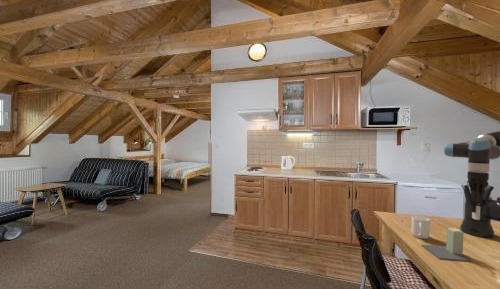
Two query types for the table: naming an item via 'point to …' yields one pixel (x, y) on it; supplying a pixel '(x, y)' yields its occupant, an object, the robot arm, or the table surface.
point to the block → (454, 241)
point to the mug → (420, 227)
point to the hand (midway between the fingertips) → (475, 218)
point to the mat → (444, 253)
